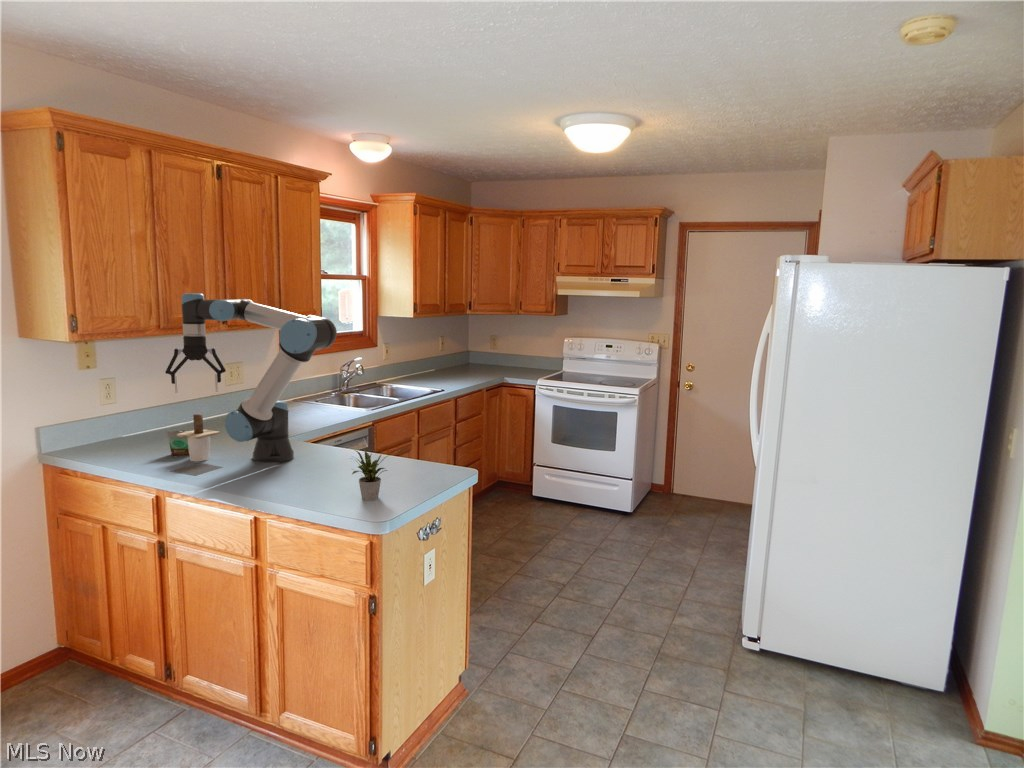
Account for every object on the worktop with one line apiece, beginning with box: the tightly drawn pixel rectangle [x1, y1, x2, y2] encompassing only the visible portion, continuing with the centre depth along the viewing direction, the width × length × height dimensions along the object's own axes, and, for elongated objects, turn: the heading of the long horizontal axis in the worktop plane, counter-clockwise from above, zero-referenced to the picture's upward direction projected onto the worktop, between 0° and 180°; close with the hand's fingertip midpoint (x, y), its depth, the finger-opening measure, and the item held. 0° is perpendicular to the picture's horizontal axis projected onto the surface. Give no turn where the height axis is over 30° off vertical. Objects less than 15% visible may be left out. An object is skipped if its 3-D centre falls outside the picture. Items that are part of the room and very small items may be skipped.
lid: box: [177, 413, 221, 439], centre depth 249 cm, size 10×10×8 cm
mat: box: [170, 462, 224, 477], centre depth 238 cm, size 13×13×1 cm
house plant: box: [350, 449, 391, 501], centre depth 212 cm, size 14×14×16 cm
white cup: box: [187, 436, 211, 462], centre depth 251 cm, size 8×8×10 cm
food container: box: [166, 429, 190, 457], centre depth 256 cm, size 12×6×10 cm, turn 105°
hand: (197, 391), depth 247 cm, fingers open, 13 cm apart
